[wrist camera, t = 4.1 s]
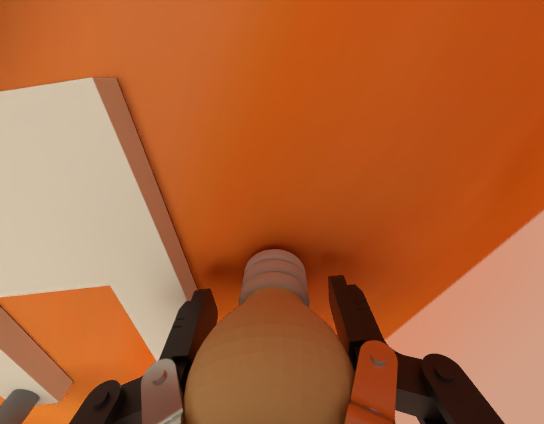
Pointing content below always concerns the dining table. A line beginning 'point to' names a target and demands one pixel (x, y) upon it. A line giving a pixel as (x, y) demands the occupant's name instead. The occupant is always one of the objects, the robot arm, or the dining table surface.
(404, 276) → the dining table surface
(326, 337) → the light bulb
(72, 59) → the dining table surface
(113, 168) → the cream u-shaped stand
